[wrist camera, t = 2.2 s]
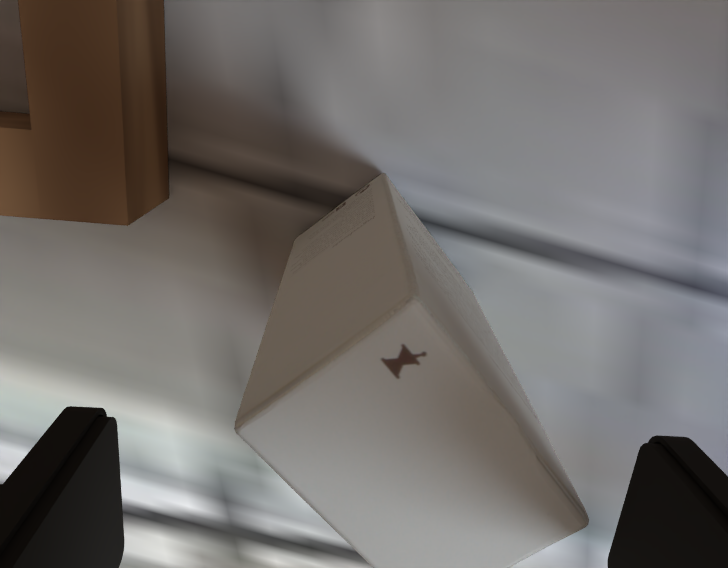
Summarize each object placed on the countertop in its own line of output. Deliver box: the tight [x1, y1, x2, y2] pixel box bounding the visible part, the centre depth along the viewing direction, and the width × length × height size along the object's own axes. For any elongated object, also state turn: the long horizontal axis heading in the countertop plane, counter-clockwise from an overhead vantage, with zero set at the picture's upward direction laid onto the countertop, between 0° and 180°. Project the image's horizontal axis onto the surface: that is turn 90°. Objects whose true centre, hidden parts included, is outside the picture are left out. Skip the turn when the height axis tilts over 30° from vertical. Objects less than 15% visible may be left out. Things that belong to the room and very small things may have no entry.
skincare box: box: [234, 173, 589, 568], centre depth 16 cm, size 6×4×12 cm
